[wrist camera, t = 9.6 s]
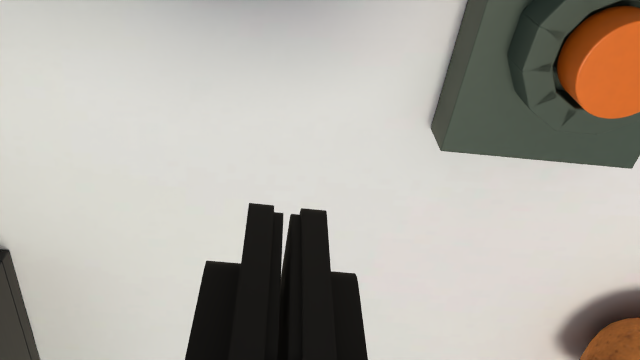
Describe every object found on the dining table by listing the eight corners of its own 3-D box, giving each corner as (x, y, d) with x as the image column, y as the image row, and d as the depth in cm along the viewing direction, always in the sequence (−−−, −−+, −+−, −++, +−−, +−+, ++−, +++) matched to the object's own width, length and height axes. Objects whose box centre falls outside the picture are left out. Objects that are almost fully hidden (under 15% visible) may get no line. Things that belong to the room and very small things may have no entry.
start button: (581, -2, 20) (603, 13, 18) (677, 11, 20) (707, 26, 19) (541, 94, 22) (558, 114, 20) (629, 104, 22) (652, 123, 21)
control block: (509, -144, 20) (552, -135, 17) (743, -106, 21) (826, -91, 18) (430, 128, 27) (449, 172, 23) (610, 146, 28) (652, 190, 25)
